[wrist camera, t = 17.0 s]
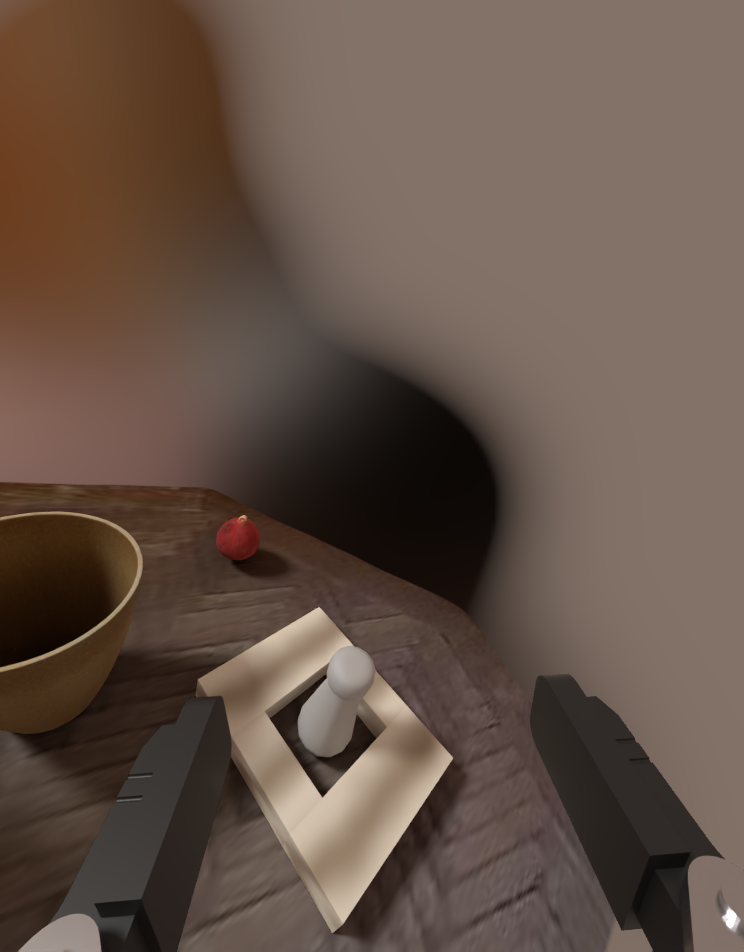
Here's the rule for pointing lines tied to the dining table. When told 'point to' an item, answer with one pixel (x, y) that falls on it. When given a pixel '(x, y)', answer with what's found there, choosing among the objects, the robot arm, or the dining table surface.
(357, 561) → the dining table surface
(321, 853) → the hole board
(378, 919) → the dining table surface
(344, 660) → the salt shaker
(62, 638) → the plant pot
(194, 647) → the dining table surface
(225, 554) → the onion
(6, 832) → the dining table surface
